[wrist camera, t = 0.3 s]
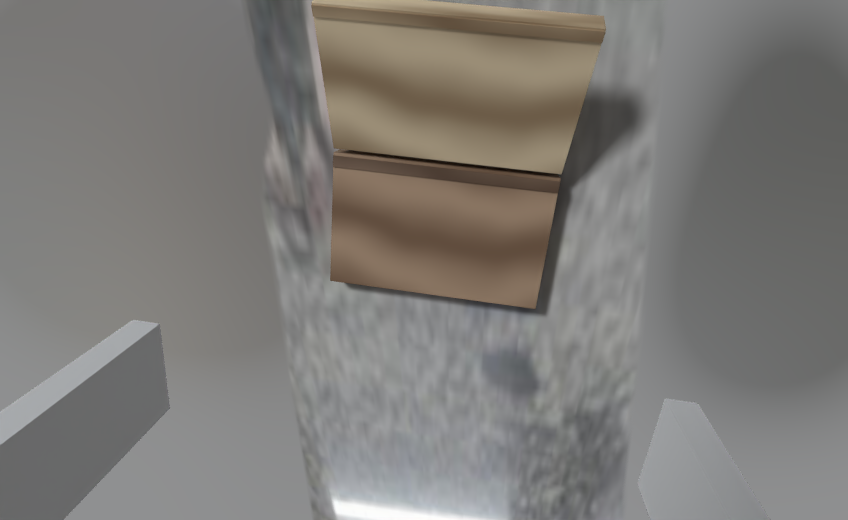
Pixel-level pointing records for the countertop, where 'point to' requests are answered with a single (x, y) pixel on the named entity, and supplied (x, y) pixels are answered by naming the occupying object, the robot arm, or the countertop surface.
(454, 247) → the floor board
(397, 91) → the board
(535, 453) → the countertop surface
